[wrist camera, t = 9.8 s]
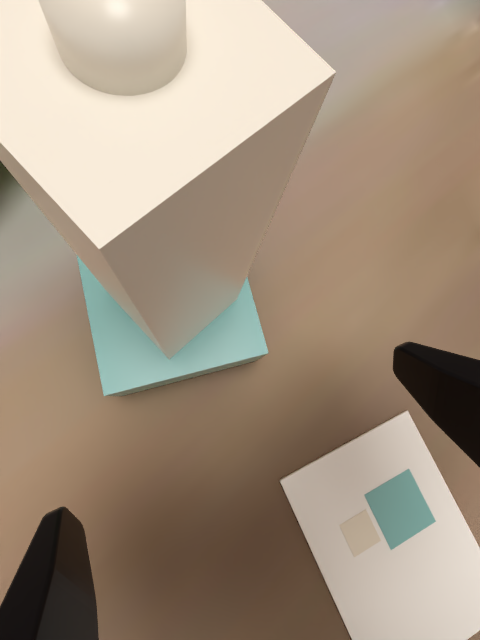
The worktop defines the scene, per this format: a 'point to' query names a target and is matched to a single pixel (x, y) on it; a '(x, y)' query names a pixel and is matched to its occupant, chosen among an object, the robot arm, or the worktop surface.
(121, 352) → the base brick
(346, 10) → the worktop surface
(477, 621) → the page
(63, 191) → the tall brick
